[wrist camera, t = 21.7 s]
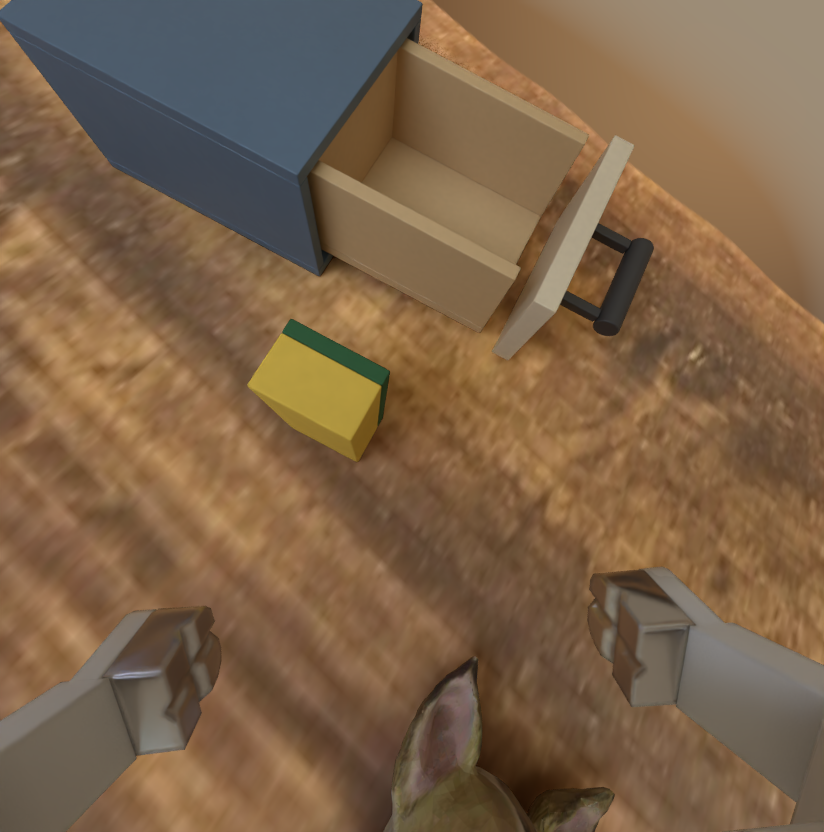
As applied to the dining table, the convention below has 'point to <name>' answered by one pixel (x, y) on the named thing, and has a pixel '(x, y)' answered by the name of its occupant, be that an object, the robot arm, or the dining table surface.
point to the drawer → (467, 199)
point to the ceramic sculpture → (472, 775)
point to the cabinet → (218, 95)
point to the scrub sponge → (323, 389)
